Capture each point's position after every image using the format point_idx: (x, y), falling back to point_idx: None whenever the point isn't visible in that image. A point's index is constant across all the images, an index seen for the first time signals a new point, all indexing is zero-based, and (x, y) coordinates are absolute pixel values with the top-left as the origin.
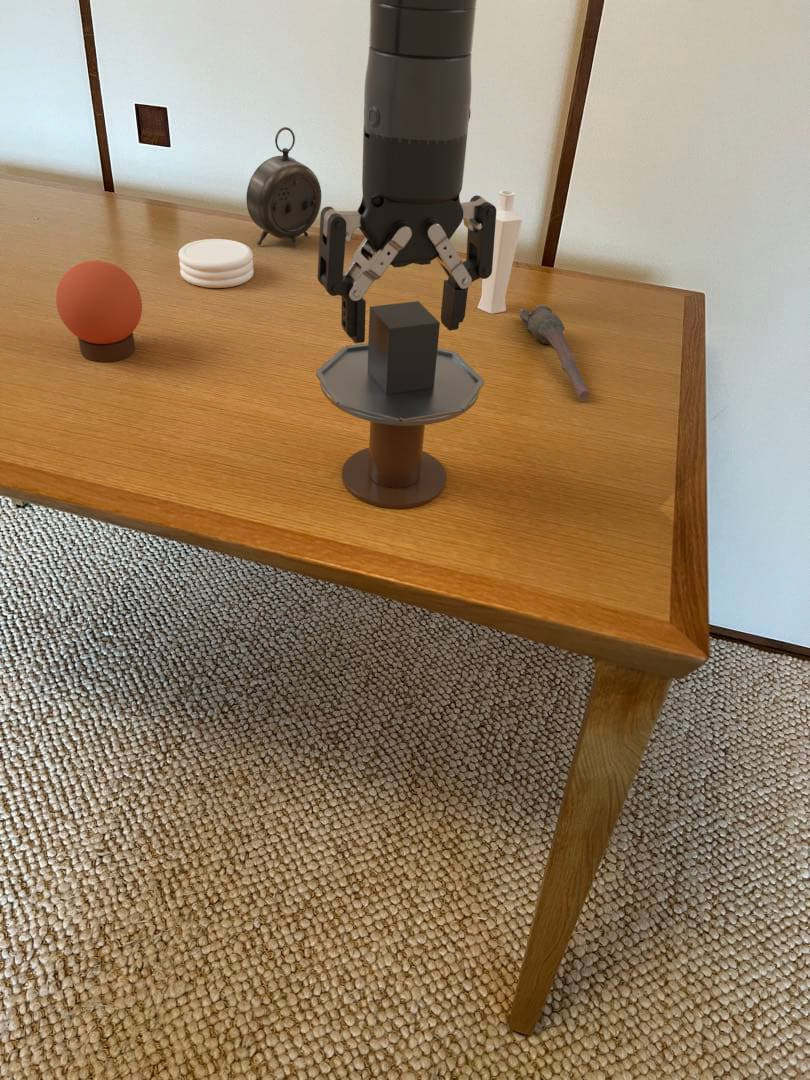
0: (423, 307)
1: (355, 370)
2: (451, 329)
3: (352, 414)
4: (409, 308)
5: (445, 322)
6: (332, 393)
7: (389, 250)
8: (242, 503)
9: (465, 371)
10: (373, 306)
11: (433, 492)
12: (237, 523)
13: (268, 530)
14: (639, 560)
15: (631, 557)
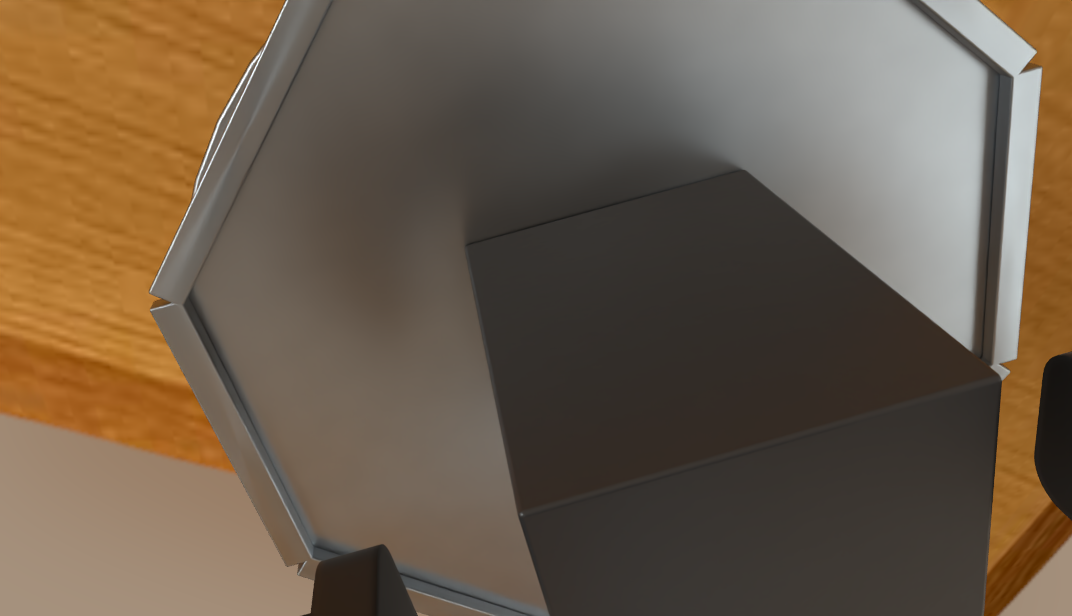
0: (982, 499)
1: (393, 238)
2: (1049, 485)
3: None
4: (861, 522)
5: (1061, 429)
6: (263, 501)
7: None
8: (10, 270)
9: (981, 246)
10: (555, 512)
11: None
12: (22, 362)
13: (129, 390)
14: (1013, 475)
15: (1004, 467)
